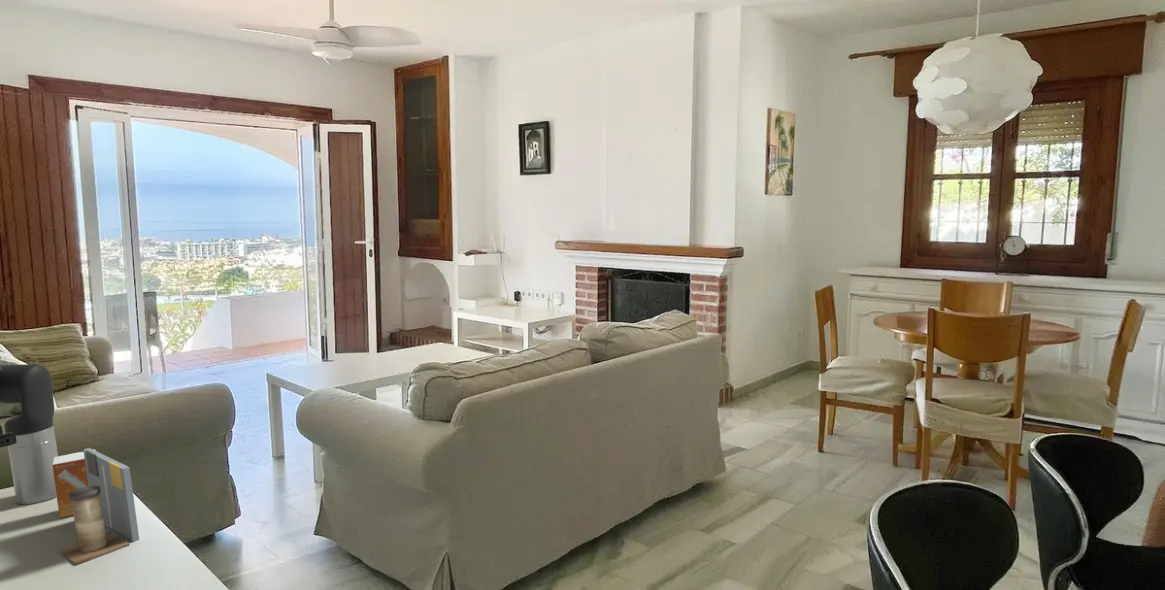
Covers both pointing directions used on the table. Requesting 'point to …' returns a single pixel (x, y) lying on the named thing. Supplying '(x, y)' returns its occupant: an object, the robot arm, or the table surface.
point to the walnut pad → (81, 557)
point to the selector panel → (113, 492)
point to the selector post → (88, 518)
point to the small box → (68, 479)
